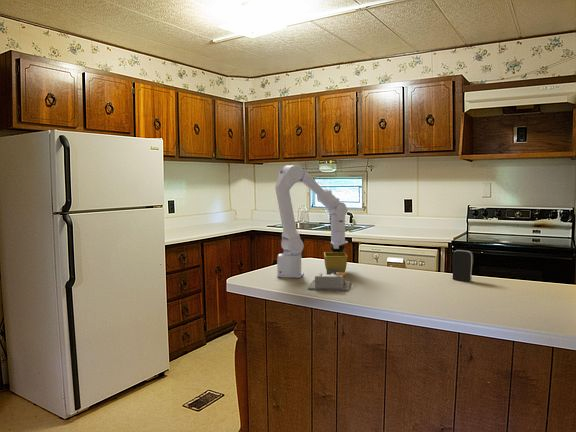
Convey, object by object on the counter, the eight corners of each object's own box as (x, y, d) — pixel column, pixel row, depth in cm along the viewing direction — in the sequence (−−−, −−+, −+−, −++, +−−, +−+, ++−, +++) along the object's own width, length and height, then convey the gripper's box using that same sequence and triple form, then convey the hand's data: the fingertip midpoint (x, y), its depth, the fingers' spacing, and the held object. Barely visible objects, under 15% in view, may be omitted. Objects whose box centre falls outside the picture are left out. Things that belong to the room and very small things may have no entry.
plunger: (322, 284, 163) (321, 272, 163) (325, 278, 173) (325, 267, 173) (345, 285, 161) (345, 273, 161) (347, 278, 171) (347, 268, 171)
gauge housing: (307, 289, 157) (307, 276, 157) (313, 281, 169) (313, 269, 169) (347, 291, 154) (347, 278, 154) (350, 283, 166) (350, 270, 166)
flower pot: (347, 278, 174) (347, 255, 173) (325, 278, 174) (324, 256, 173) (345, 273, 182) (345, 252, 182) (323, 274, 183) (323, 252, 182)
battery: (473, 280, 169) (474, 250, 168) (470, 282, 166) (471, 251, 165) (455, 277, 173) (455, 248, 172) (451, 279, 170) (452, 250, 169)
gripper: (346, 233, 178) (346, 266, 179) (349, 228, 192) (349, 260, 193) (328, 232, 179) (328, 266, 181) (332, 228, 194) (332, 259, 195)
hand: (338, 263), depth 187 cm, fingers closed
